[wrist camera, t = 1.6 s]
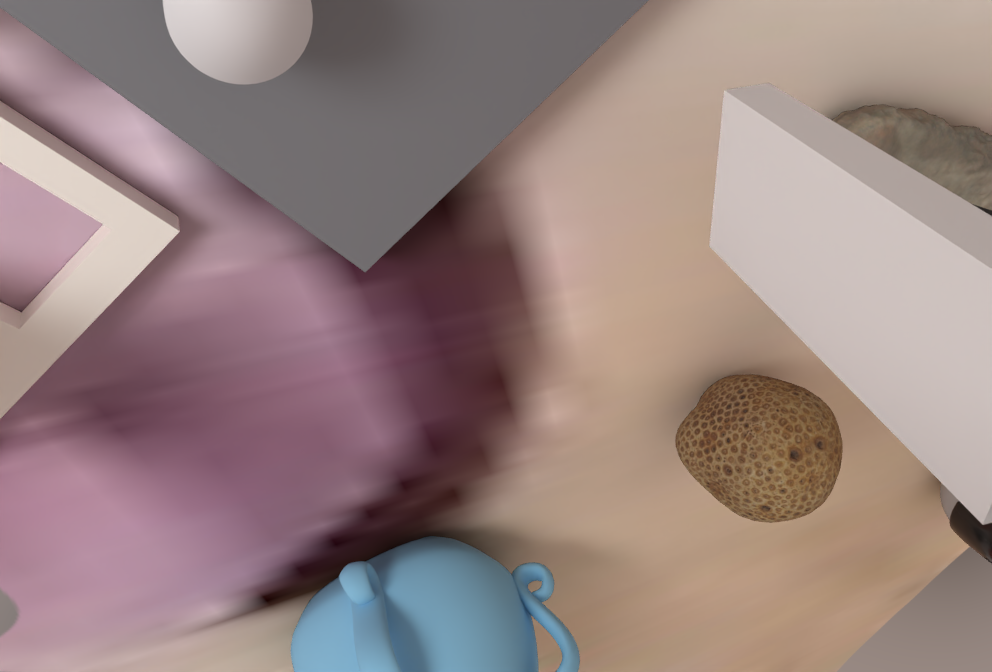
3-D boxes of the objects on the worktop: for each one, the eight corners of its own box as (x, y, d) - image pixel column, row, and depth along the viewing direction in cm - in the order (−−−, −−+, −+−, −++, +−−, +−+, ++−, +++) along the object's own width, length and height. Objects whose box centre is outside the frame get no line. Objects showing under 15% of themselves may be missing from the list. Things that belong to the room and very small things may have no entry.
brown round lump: (796, 382, 57) (896, 490, 50) (692, 460, 59) (774, 575, 52) (750, 314, 51) (855, 425, 44) (635, 403, 53) (719, 524, 45)
